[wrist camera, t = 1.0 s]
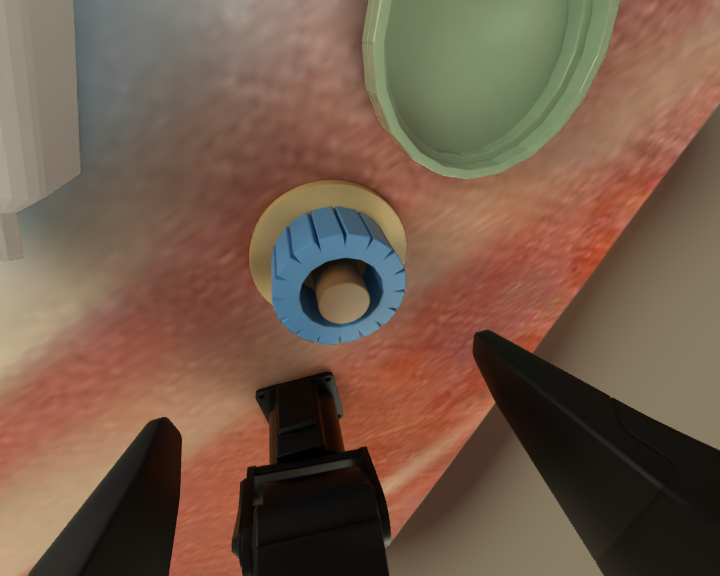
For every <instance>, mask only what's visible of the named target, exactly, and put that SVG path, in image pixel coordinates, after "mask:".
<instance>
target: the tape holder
mask: <svg viewBox="0 0 720 576" xmlns="http://www.w3.org/2000/svg"><path fill="white" fill-rule="evenodd" d="M330 206H331V207H332V208H333V211H334V212H335V208H336V206H338V207H344V208H349V209H355V210H356V211H357V213H359V212H362V213H363V214H365V215H366V216H368V217H369V218H371V219H372V220H374V221H375V223H376V224H378V225H379V227H380V228H381V230H382V231H383V233H384V235H385V236H386V238H387V239H388V241H389V242H390V244H391V246H392V247H393V249H394V250H395V252H396V254H397V255H398V257H399V259H400V260H401V262H402V264H403V266H404V264H405V259H406V250H407V243H406V235H405V232H404V228H403V226H402V223H401V221H400V219H399V217H398V216H397V214H396V213H395V211H394V210H393V209H392V207H391V206H390V205H389V204H388V203H387V202H386V200H385V199H383V198H382V197H381V196H380V195H379V194H377V193H376V192H374V191H373V190H371V189H369V188H367V187H365V186H363V185H360V184H357V183H354V182H350V181H344V180H320V181H313V182H310V183H306V184H303V185H300V186H298V187H295V188H293V189H291V190H289V191H288V192H286V193H284V194H283V195H281V196H280V197H279V198H277V199H276V200H275V201H274V202H273V203H272V204H271V205H270V206H269V207H268V208H267V209H266V210H265V211H264V213H263V214H262V215H261V217H260V218H259V220H258V222H257V224H256V226H255V228H254V231H253V234H252V237H251V242H250V250H249V264H250V271H251V274H252V278H253V280H254V282H255V285H256V287H257V288H258V290H259V291H260V293H261V294H262V296H263V297H264V298H265V299H266V300H267V301H268V302H269V303H270V304H271V305H273V303H272V283H271V260H272V253H273V247H274V246H276V245H275V242H276V241H277V239H278V238H279V236H280V235H281V233H282V232H283V230H284V229H285V227H288V228H289V229H290V225H289V224H290V223H291V222H292V221H294V220H295V219H297V218H298V217H300V216H301V215H303V214H304V213H308V214H309V216H310V217H311V219H312V215H311V210H315V209H320V208H325V207H330ZM366 266H367V263H366V262H364V261H362V260H359V259H351V258H341V259H336V260H332V261H327V262H325V263H323V264H322V265H320V266H319V267H317V268H315V269H314V270H312V271H311V272H310V274H309V275H308V276H307V278H306V279H305V280H304V282H303V283H304V284H305V285H306V286H307V287H310V288H312V289H314V290H315V293H316V298H317V303H318V307H319V311H320V313H321V315H322V316H323V317H324V318H325V319H326V320H328V321H330V322H333V323H338V324H344V323H349V322H352V321H355V320H357V319H358V318H360V317H361V316H362V315H363V314H364V313H365V312H366V311H367V309H368V307H369V304H370V295H369V292H368V290H367V288H366V285H365V283H364V280H363V278H362V275H363V273H364V272H365V269H366Z"/></svg>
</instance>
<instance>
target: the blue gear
mask: <svg viewBox="0 0 720 576" xmlns="http://www.w3.org/2000/svg"><path fill="white" fill-rule="evenodd" d="M311 215H312V219H311V217H310V216H309V214H308V213H304V214H303V215H301V216H300V217H298V218H297V219H295V220H294V221H292V222H291V223H290V224H289V225H290V229H289V228H288V227H285V229H284V230H283V232H282V233H281V235H280V236H279V238H278V239H277V241H276V242H275V245H276V246H274V247H273V253H272V260H271V283H272V303H273V306H274V308H275V311H276V314H277V317H278V318H279V319H281V323H282V324H283V325H284V326H285V327H286V328H288V329H289V330H290V331H291V332H292V333H293V334H295V333H297V336H298V337H300V338H303V339H305V340H308V341H311V342H313V343H314V342H315V341H316V340H318V344H338V341H339V338H340V341H341V343H342V344H343V343H347V342H351V341H355V340H359V339H360V333H361V334H362V335H363V336H364V337H366V336H368V335H369V334H371V333H373V332H375V331H376V330H378V329H380V328H381V326H380V324H382V325H385V324H386V323H387V322H388V321H389V320H390V319H391V317H392V316H393V315H394V314H395V313H396V309H395V308H399V307H400V304H401V302H402V299H403V297H404V294H405V291H404V289H406V271H405V270H404V266H403V264H402V262H401V260H400V259H399V257H398V255H397V254H396V252H395V250H394V249H393V247H392V246H391V244H390V242H389V241H388V239H387V238H386V236H385V235H384V233H383V231H382V230H381V228H380V227H379V225H378V224H376V223H375V221H374V220H372V219H371V218H369V217H368V216H366V215H365V214H363V213H362V212H359V213H357V211H356V210H355V209H349V208H344V207H338V206H336V208H335V212H334V211H333V208H332V207H331V206H330V207H325V208H320V209H315V210H311ZM341 258H351V259H359V260H362V261H364V262H366V263H367V266H366V269H365V272H364V273H363V275H362V278H363V280H364V283H365V285H366V288H367V290H368V292H369V295H370V304H369V307H368V309H367V311H366V312H365V313H364V314H363V315H362V316H361V317H360V318H358V319H357V320H355V321H352V322H349V323H344V324H338V323H333V322H330V321H328V320H326V319H325V318H324V317H323V316H322V315H321V313H320V311H319V307H318V303H317V298H316V293H315V290H314V289H312V288H310V287H307V286H306V285H305V284H304V283H303V282H304V280H305V279H306V278H307V276H308V275H309V274H310V272H311V271H312V270H314V269H315V268H317V267H319V266H320V265H322V264H323V263H325V262H327V261H332V260H336V259H341ZM379 323H380V324H379Z"/></svg>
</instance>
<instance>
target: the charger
mask: <svg viewBox="0 0 720 576" xmlns="http://www.w3.org/2000/svg"><path fill="white" fill-rule="evenodd" d="M80 173H81V166H80V143H79V120H78V97H77V74H76V51H75V28H74V5H73V0H0V261H6V260H13V259H18V258H23V251H22V244H21V237H20V230H19V223H18V217H17V212H19V211H21V210H23V209H25V208H27V207H29V206H31V205H32V204H34V203H36V202H38V201H40V200H42V199H43V198H45V197H47V196H49V195H50V194H51V193H53V192H54V191H56V190H57V189H59V188H60V187H62V186H63V185H64V184H66V183H67V182H69V181H70V180H72V179H73V178H75V177H76V176H77V175H79V174H80Z"/></svg>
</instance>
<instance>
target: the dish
mask: <svg viewBox="0 0 720 576" xmlns="http://www.w3.org/2000/svg"><path fill="white" fill-rule="evenodd" d="M619 4H620V0H368V6H367V12H366V18H365V25H364V31H363V38H362V43H363V44H362V53H363V63H364V74H365V85H366V89H367V93H368V96H369V98H370V101H371V103H372V106H373V109H374V111H375V114H376V116H377V119H378V122H379V124H380V126H381V127H382V128H383V130H384V131H385V132H386V133H387V134H388V136H389V137H390V138H391V139H392V141H393V142H394V143H395V144H396V145H397V147H398V148H399V149H400V150H401V151H402V152H404V153H405V154H406V155H408V156H409V157H410V158H411V159H413V160H414V161H416V162H417V163H419V164H421V165H423V166H424V167H426V168H428V169H430V170H431V171H433V172H435V173H437V174H438V175H441V176H448V177H455V178H462V179H474V178H479V177H484V176H489V175H494V174H498V173H502V172H503V171H505V170H507V169H509V168H511V167H513V166H515V165H517V164H518V163H520V162H522V161H524V160H526V159H528V158H530V157H531V156H532V155H534V154H535V153H536V152H537V151H538V150H539V149H540V148H541V147H543V146H544V145H545V144H546V143H547V142H548V141H549V140H551V139H552V138H553V137H554V136H555V135H556V134H557V133H558V132H559V131H560V130H561V129H562V128H563V126H564V125H565V124H566V122H567V121H568V120H569V118H570V117H571V116H572V114H573V113H574V112H575V110H576V109H577V108H578V106H579V105H580V104H581V102H582V101H583V100H584V98H585V96H586V95H587V93H588V91H589V89H590V87H591V85H592V83H593V81H594V79H595V76H596V74H597V72H598V70H599V68H600V66H601V64H602V62H603V60H604V58H605V56H606V53H607V50H608V46H609V43H610V39H611V35H612V31H613V28H614V24H615V20H616V16H617V13H618V9H619V6H618V5H619Z"/></svg>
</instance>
